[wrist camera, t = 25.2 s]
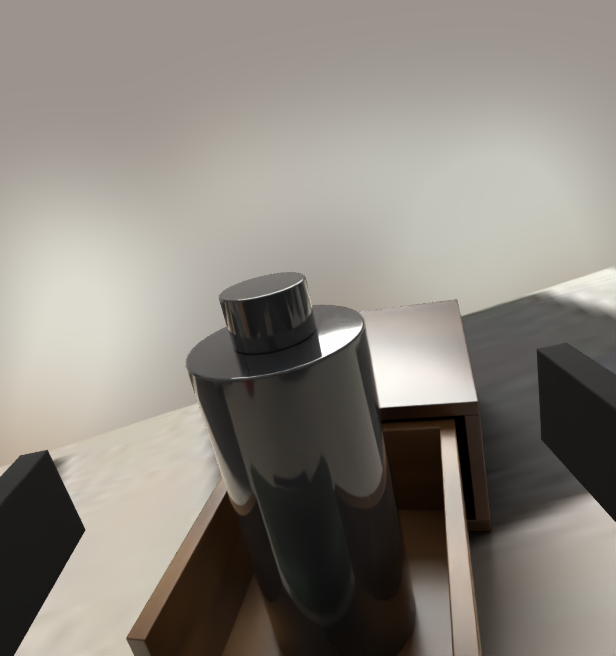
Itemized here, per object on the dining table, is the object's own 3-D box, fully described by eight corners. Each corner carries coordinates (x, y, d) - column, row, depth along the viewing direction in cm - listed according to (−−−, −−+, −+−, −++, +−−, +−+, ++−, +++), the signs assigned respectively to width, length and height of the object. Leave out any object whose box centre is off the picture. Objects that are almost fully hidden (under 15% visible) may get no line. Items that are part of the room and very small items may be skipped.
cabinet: (491, 531, 27) (478, 401, 24) (257, 529, 31) (222, 418, 28) (467, 389, 42) (457, 299, 39) (311, 400, 46) (292, 319, 43)
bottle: (417, 550, 24) (365, 249, 19) (415, 691, 18) (337, 303, 13) (293, 547, 26) (215, 273, 21) (253, 674, 20) (128, 331, 15)
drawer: (594, 1294, 9) (591, 1180, 7) (36, 1059, 13) (-86, 936, 10) (479, 515, 27) (467, 414, 25) (264, 515, 31) (237, 427, 28)
